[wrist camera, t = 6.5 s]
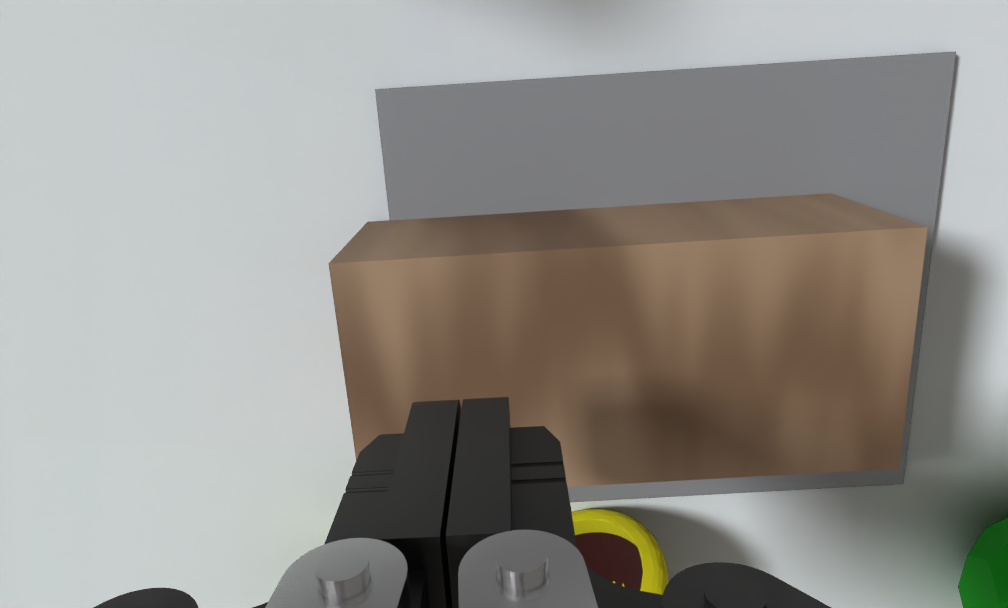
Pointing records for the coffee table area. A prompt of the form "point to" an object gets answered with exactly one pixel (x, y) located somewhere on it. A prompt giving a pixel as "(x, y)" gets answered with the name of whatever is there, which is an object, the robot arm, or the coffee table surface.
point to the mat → (681, 163)
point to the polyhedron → (987, 570)
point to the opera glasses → (620, 549)
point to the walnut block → (646, 332)
